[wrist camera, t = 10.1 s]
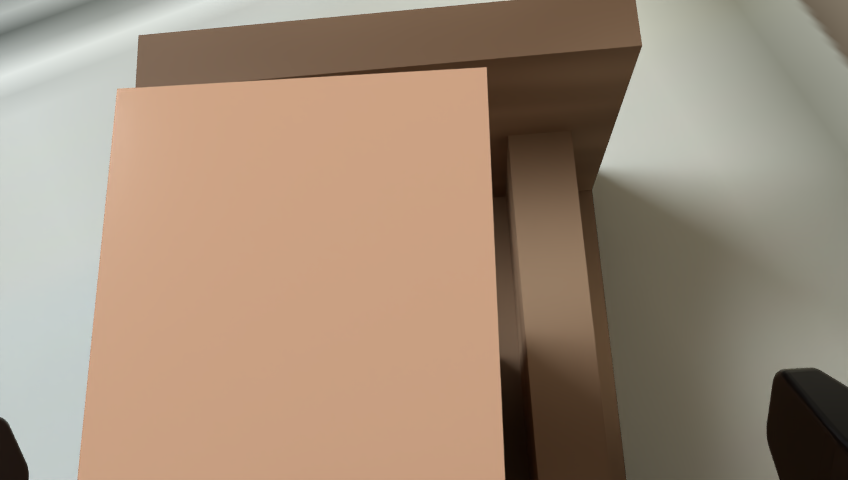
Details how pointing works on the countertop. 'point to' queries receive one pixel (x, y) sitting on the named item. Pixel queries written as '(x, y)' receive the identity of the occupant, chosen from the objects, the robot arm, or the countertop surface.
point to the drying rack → (493, 181)
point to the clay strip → (298, 283)
